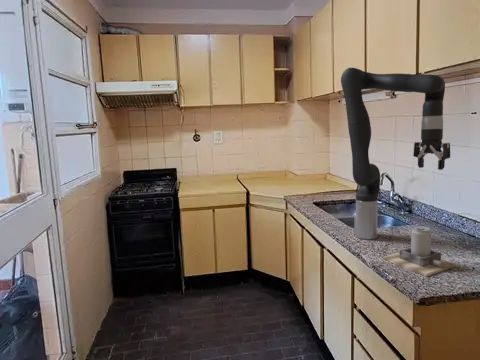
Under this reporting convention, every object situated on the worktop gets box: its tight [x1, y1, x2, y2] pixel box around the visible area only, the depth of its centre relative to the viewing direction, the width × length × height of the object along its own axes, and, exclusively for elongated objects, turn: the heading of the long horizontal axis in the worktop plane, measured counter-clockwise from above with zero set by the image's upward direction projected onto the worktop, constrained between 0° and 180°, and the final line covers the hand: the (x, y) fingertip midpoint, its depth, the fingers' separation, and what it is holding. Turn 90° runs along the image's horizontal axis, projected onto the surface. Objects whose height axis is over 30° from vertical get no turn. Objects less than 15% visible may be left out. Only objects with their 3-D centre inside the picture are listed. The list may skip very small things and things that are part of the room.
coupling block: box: [382, 247, 456, 277], centre depth 128 cm, size 18×15×4 cm
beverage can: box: [410, 225, 432, 257], centre depth 127 cm, size 6×6×12 cm
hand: (430, 168), depth 140 cm, fingers open, 8 cm apart
